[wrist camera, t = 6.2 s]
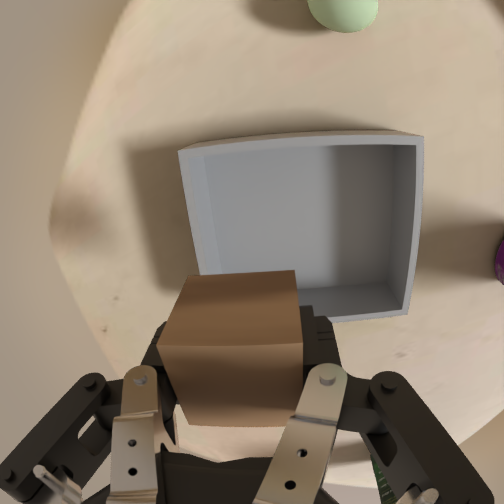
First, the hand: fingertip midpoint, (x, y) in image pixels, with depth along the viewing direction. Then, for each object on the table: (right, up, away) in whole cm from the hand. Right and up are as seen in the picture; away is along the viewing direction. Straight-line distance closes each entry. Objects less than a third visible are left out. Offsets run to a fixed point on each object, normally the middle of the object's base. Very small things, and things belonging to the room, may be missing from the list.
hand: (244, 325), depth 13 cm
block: (0, 0, +1) cm, 1 cm away
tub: (+5, +6, +12) cm, 14 cm away
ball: (+7, +22, +4) cm, 23 cm away
